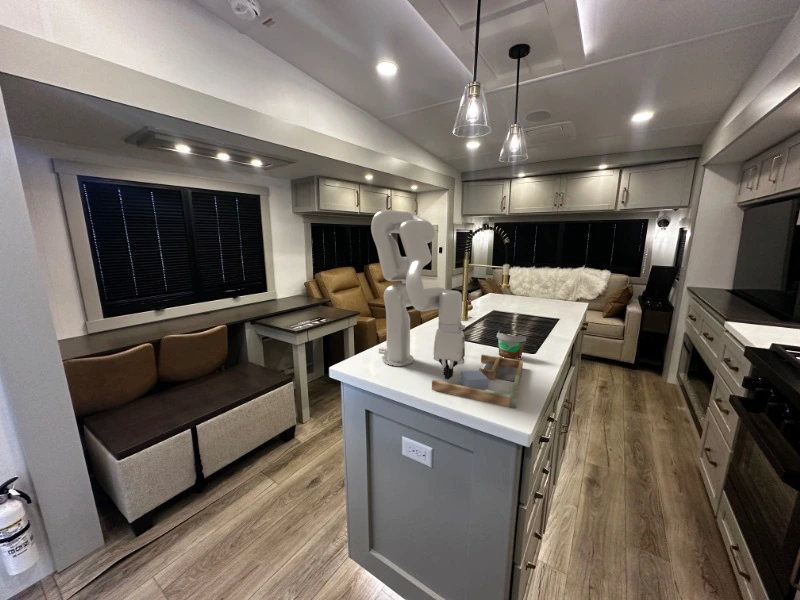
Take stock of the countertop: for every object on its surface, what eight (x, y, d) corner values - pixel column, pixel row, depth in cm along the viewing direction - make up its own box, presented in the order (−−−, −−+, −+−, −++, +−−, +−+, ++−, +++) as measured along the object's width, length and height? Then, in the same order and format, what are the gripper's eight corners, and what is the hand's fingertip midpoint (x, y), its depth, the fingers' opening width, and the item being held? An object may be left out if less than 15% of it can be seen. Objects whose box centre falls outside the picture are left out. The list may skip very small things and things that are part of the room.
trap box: (431, 390, 100) (431, 373, 99) (457, 357, 130) (458, 343, 128) (515, 408, 89) (517, 389, 88) (523, 368, 119) (524, 353, 117)
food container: (490, 355, 132) (491, 333, 130) (496, 351, 137) (498, 330, 135) (518, 362, 124) (520, 339, 122) (524, 358, 128) (526, 335, 126)
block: (467, 391, 100) (467, 380, 100) (460, 382, 107) (460, 371, 106) (487, 390, 101) (488, 378, 100) (479, 381, 108) (480, 370, 107)
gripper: (474, 326, 104) (471, 377, 107) (432, 322, 110) (431, 370, 113) (469, 332, 97) (466, 386, 100) (424, 327, 103) (424, 378, 107)
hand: (448, 377), depth 107 cm, fingers closed
